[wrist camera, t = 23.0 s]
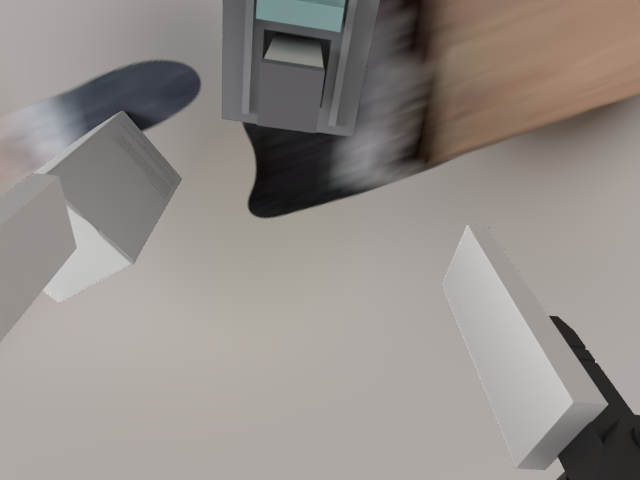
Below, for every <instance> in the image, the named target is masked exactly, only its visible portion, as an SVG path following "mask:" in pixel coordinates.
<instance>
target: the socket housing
mask: <svg viewBox="0 0 640 480" xmlns="http://www.w3.org/2000/svg"><path fill="white" fill-rule="evenodd" d="M379 3H380V0H345V6H344V12H343V19H342V25H341V31H340V32H335V31H329V30H323V29H317V28H311V27H305V26H299V25H293V24H287V23H280V22H274V21H268V20H262V19H256V8H257V0H223V50H222V55H223V56H222V57H223V58H222V119H226V120H234V121H241V122H248V123H255V124H257V119H258V102H259V85H260V68H261V61H262V59H263V58H264V57H265V55H266V53H267V51H268V49H269V46H270V44H271V42H272V40H273V38H274V36H275V34H277V35H283V36H289V37H295V38H301V39H308V40H314V41H320V44H321V52H322V60H323V68H325V75H324V82H323V89H322V96H321V103H320V109H319V116H318V123H317V130H316V132H321V133H328V134H335V135H343V136H350V137H353V132H354V127H355V122H356V117H357V112H358V107H359V102H360V97H361V92H362V87H363V82H364V77H365V72H366V68H367V63H368V58H369V53H370V48H371V43H372V38H373V33H374V28H375V23H376V18H377V13H378V8H379Z"/></svg>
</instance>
